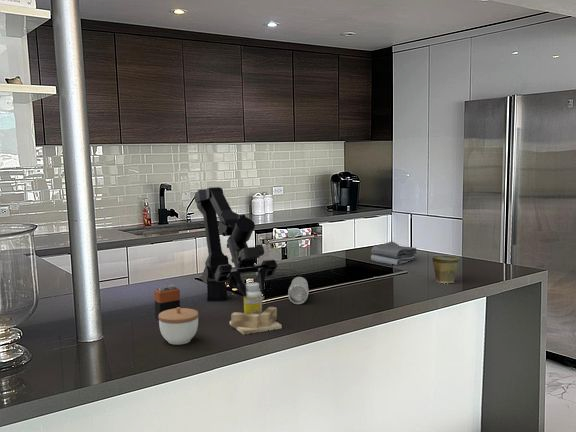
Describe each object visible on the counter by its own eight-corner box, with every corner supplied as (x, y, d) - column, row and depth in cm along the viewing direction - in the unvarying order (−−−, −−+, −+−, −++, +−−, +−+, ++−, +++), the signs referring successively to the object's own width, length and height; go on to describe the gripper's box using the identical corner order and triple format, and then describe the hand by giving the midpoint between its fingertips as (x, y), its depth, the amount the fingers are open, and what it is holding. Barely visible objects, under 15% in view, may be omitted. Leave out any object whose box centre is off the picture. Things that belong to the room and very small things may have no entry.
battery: (181, 317, 174) (180, 286, 173) (160, 321, 170) (159, 289, 169) (174, 314, 177) (173, 283, 176) (154, 318, 173) (153, 286, 172)
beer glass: (305, 296, 202) (304, 307, 187) (287, 290, 202) (284, 301, 187) (311, 279, 201) (311, 288, 186) (293, 273, 201) (291, 281, 186)
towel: (369, 262, 257) (369, 245, 256) (390, 256, 270) (390, 240, 269) (398, 266, 247) (398, 249, 246) (418, 260, 260) (419, 243, 259)
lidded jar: (205, 342, 151) (204, 309, 150) (167, 350, 145) (166, 315, 144) (189, 332, 160) (189, 300, 159) (153, 339, 154) (152, 306, 153)
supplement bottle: (249, 312, 169) (248, 280, 168) (265, 314, 167) (264, 282, 166) (240, 317, 164) (240, 285, 163) (256, 319, 162) (256, 287, 161)
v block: (225, 324, 166) (225, 310, 166) (269, 317, 173) (269, 303, 172) (239, 335, 156) (239, 320, 156) (285, 327, 163) (285, 312, 162)
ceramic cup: (457, 286, 210) (457, 260, 209) (430, 284, 214) (430, 258, 212) (460, 278, 222) (460, 254, 221) (434, 276, 226) (435, 252, 224)
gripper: (217, 238, 162) (231, 283, 154) (274, 233, 170) (291, 276, 162) (208, 259, 170) (222, 304, 162) (264, 254, 178) (279, 296, 170)
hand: (254, 294), depth 164 cm, fingers closed on supplement bottle, 5 cm apart
